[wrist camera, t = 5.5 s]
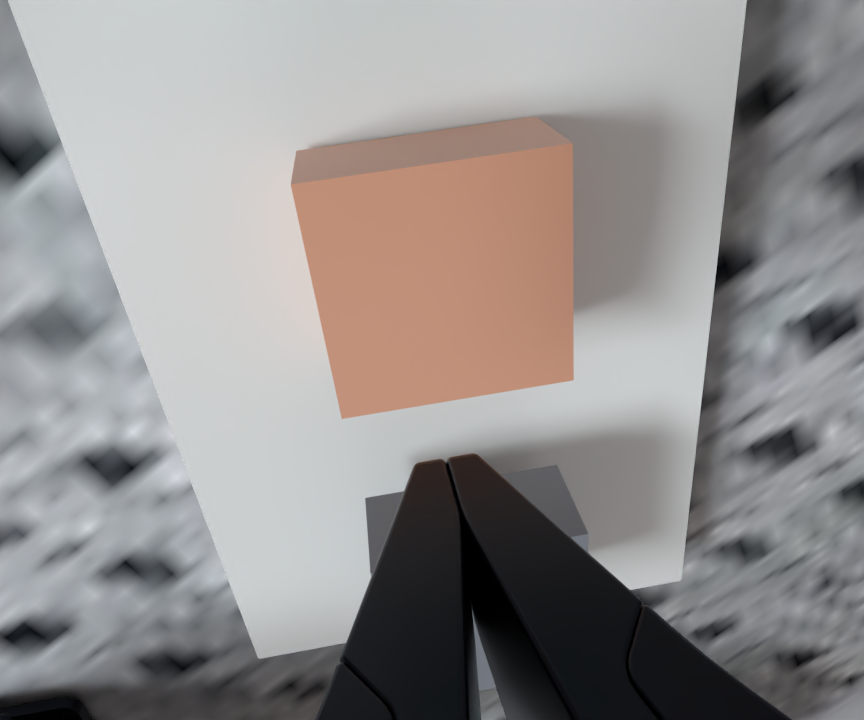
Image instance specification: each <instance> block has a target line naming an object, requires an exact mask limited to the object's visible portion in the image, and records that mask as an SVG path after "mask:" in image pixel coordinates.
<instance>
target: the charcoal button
mask: <svg viewBox="0 0 864 720" xmlns="http://www.w3.org/2000/svg"><path fill="white" fill-rule="evenodd" d="M500 475H501V476H502V477H504V478H505V479H506V480H507V481H508V482H509V483H510V484H511V485H513V486H514V487H515V488H516V489H517V490H518V491H519V492H520V493H522V494H523V495H524V496H525V497H526V498H527V499H528V500H529V501H531V502H532V503H533V504H534V505H535V506H536V507H537V508H538V509H540V510H541V511H542V512H543V513H544V514H545V515H546V516H547V517H549V518H550V519H551V520H552V521H553V522H554V523H555V524H556V525H558V526H559V527H560V528H561V529H562V530H563V531H564V532H565V533H567V534H568V535H569V536H570V537H571V538H572V539H573V540H574V541H576V542H577V543H578V544H579V545H580V546H581V547H582V548H583V549H585V550H586V551H587V552H588V539H589V534H588V532H587V529H586V527H585V525H584V523H583V521H582V519H581V516H580V514H579V512H578V510H577V508H576V505H575V503H574V501H573V499H572V497H571V495H570V492H569V490H568V488H567V486H566V484H565V481H564V479H563V477H562V475H561V473H560V471H559V468H558V466H557V465H552V466H546V467H540V468H535V469H529V470H523V471H517V472H512V473H506V474H500ZM403 492H404V491H402V492H397V493H391V494H385V495H379V496H374V497H368V498H365V503H366V517H367V532H368V546H369V560H370V574H371V576H372V574H373V571H374V568H375V566H376V563H377V560H378V558H379V555H380V553H381V550H382V547H383V545H384V542H385V539H386V537H387V534H388V532H389V529H390V526H391V524H392V521H393V519H394V516H395V513H396V511H397V508H398V505H399V503H400V500H401V498H402V495H403ZM472 615H473V612H472ZM473 624H474V633H475V644H476V657H477V671H478V684H479V691H483V690H488V689H493V688H496V685H495V682H494V679H493V676H492V673H491V670H490V667H489V664H488V661H487V659H486V656H485V653H484V650H483V647H482V644H481V641H480V637H479V634H478V631H477V628H476V624H475V621H474V616H473Z"/></svg>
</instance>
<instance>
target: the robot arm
mask: <svg viewBox="0 0 864 720" xmlns="http://www.w3.org/2000/svg"><path fill="white" fill-rule="evenodd" d="M472 612H473V615H472ZM473 616H474V621H475V624H476V628H477V631H478V634H479V637H480V641H481V644H482V647H483V650H484V653H485V656H486V659H487V661H488V664H489V667H490V670H491V673H492V676H493V679H494V682H495V685H496V688H497V691H498V694H499V697H500V700H501V703H502V706H503V709H504V712H505V715H506V718H507V720H792V719H791V718H789V717H788V716H787V715H785V714H784V713H782V712H781V711H780V710H778V709H777V708H775V707H774V706H773V705H771V704H770V703H768V702H767V701H766V700H764V699H763V698H762V697H760V696H759V695H757V694H756V693H755V692H753V691H752V690H751V689H749V688H748V687H747V686H745V685H744V684H743V683H741V682H740V681H739V680H737V679H736V678H735V677H733V676H732V675H731V674H729V673H728V672H727V671H725V670H724V669H723V668H721V667H720V666H719V665H718V664H716V663H715V662H714V661H712V660H711V659H710V658H708V657H707V656H706V655H705V654H703V653H702V652H701V651H700V650H699V649H698V648H696V647H695V646H694V645H693V644H692V643H690V642H689V641H688V640H687V639H686V638H684V637H683V636H682V635H681V634H680V633H678V632H677V631H676V630H675V629H674V628H673V627H671V626H670V625H669V624H668V623H667V622H666V621H665V620H663V619H662V618H661V617H660V616H659V615H658V614H657V613H656V612H655V611H653V610H652V609H651V608H650V607H649V606H647V605H644V606H643V602H642V600H641V599H640V598H638V597H637V596H636V595H635V594H634V593H633V592H632V591H631V590H630V589H628V588H627V587H626V586H625V585H624V584H623V583H622V582H621V581H619V580H618V579H617V578H616V577H615V576H614V575H613V574H612V573H610V572H609V571H608V570H607V569H606V568H605V567H604V566H603V565H601V564H600V563H599V562H598V561H597V560H596V559H595V558H594V557H592V556H591V555H590V554H589V553H588V552H587V551H586V550H585V549H583V548H582V547H581V546H580V545H579V544H578V543H577V542H576V541H574V540H573V539H572V538H571V537H570V536H569V535H568V534H567V533H565V532H564V531H563V530H562V529H561V528H560V527H559V526H558V525H556V524H555V523H554V522H553V521H552V520H551V519H550V518H549V517H547V516H546V515H545V514H544V513H543V512H542V511H541V510H540V509H538V508H537V507H536V506H535V505H534V504H533V503H532V502H531V501H529V500H528V499H527V498H526V497H525V496H524V495H523V494H522V493H520V492H519V491H518V490H517V489H516V488H515V487H514V486H513V485H511V484H510V483H509V482H508V481H507V480H506V479H505V478H504V477H502V476H501V475H500V474H499V473H498V472H497V471H496V470H495V469H493V468H492V467H491V466H490V465H489V464H488V463H487V462H486V461H484V460H483V459H482V458H481V457H480V456H479V455H477V454H475V453H470V454H464V455H459V456H453V457H449V458H448V459H447V461H446V462H445V461H444V460H443V459H435V460H430V461H424V462H418V463H416V464H415V465H414V467H413V469H412V471H411V474H410V477H409V479H408V482H407V484H406V487H405V490H404V492H403V495H402V498H401V500H400V503H399V505H398V508H397V511H396V513H395V516H394V519H393V521H392V524H391V526H390V529H389V532H388V534H387V537H386V539H385V542H384V545H383V547H382V550H381V553H380V555H379V558H378V560H377V563H376V566H375V568H374V571H373V574H372V576H371V579H370V581H369V584H368V587H367V589H366V592H365V595H364V597H363V600H362V602H361V605H360V608H359V610H358V613H357V615H356V618H355V621H354V623H353V626H352V629H351V631H350V634H349V636H348V639H347V642H346V644H345V647H344V650H343V652H342V655H341V657H340V662H341V663H339V664H338V665H337V667H336V670H335V672H334V675H333V678H332V680H331V683H330V685H329V688H328V691H327V693H326V696H325V698H324V700H323V703H322V705H321V708H320V710H319V712H318V715H317V717H316V719H315V720H481V711H480V698H479V684H478V671H477V657H476V644H475V633H474V624H473ZM0 720H93V719H92V718H91V716H90V714H89V713H88V711H87V709H86V708H85V706H84V705H83V703H82V702H81V701H80V700H78V699H76V698H71V697H62V698H57V699H51V700H46V701H41V702H35V703H30V704H24V705H19V706H14V707H8V708H3V709H0Z"/></svg>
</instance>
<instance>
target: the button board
mask: <svg viewBox="0 0 864 720" xmlns="http://www.w3.org/2000/svg"><path fill="white" fill-rule="evenodd" d="M8 2H9V5H10V8H11V10H12V13H13V15H14V18H15V21H16V23H17V26H18V29H19V31H20V34H21V36H22V39H23V42H24V44H25V47H26V50H27V52H28V55H29V57H30V60H31V63H32V65H33V68H34V71H35V73H36V76H37V79H38V81H39V84H40V86H41V89H42V92H43V94H44V97H45V100H46V102H47V105H48V107H49V110H50V113H51V115H52V118H53V121H54V123H55V126H56V128H57V131H58V134H59V136H60V139H61V142H62V144H63V147H64V149H65V152H66V155H67V157H68V160H69V163H70V165H71V168H72V170H73V173H74V176H75V178H76V181H77V184H78V186H79V189H80V191H81V194H82V197H83V199H84V202H85V205H86V207H87V210H88V213H89V215H90V218H91V220H92V223H93V226H94V228H95V231H96V234H97V236H98V239H99V241H100V244H101V247H102V249H103V252H104V255H105V257H106V260H107V262H108V265H109V268H110V270H111V273H112V276H113V278H114V281H115V283H116V286H117V289H118V291H119V294H120V297H121V299H122V302H123V304H124V307H125V310H126V312H127V315H128V318H129V320H130V323H131V326H132V328H133V331H134V333H135V336H136V339H137V341H138V344H139V347H140V349H141V352H142V354H143V357H144V360H145V362H146V365H147V368H148V370H149V373H150V375H151V378H152V381H153V383H154V386H155V389H156V391H157V394H158V396H159V399H160V402H161V404H162V407H163V410H164V412H165V415H166V417H167V420H168V423H169V425H170V428H171V431H172V433H173V436H174V439H175V441H176V444H177V446H178V449H179V452H180V454H181V457H182V460H183V462H184V465H185V467H186V470H187V473H188V475H189V478H190V481H191V483H192V486H193V488H194V491H195V494H196V496H197V499H198V502H199V504H200V507H201V509H202V512H203V515H204V517H205V520H206V523H207V525H208V528H209V530H210V533H211V536H212V538H213V541H214V544H215V546H216V549H217V551H218V554H219V557H220V559H221V562H222V565H223V567H224V570H225V573H226V575H227V578H228V580H229V583H230V586H231V588H232V591H233V594H234V596H235V599H236V601H237V604H238V607H239V609H240V612H241V615H242V617H243V620H244V622H245V625H246V628H247V630H248V633H249V636H250V638H251V641H252V643H253V646H254V649H255V651H256V654H257V657H258V659H262V658H267V657H273V656H278V655H284V654H289V653H294V652H300V651H305V650H310V649H316V648H321V647H327V646H332V645H337V644H343V643H346V642H347V639H348V636H349V634H350V631H351V629H352V626H353V623H354V621H355V618H356V615H357V613H358V610H359V608H360V605H361V602H362V600H363V597H364V595H365V592H366V589H367V587H368V584H369V581H370V579H371V574H370V560H369V546H368V532H367V517H366V503H365V498H368V497H374V496H379V495H385V494H391V493H397V492H402V491H404V490H405V487H406V484H407V482H408V479H409V477H410V474H411V471H412V469H413V467H414V465H415V464H416V463H418V462H424V461H430V460H435V459H443V460H444V461H445V462H446V461H447V459H448V458H449V457H453V456H459V455H464V454H470V453H475V454H477V455H479V456H480V457H481V458H482V459H483V460H484V461H486V462H487V463H488V464H489V465H490V466H491V467H492V468H493V469H495V470H496V471H497V472H498V473H499V474H506V473H512V472H517V471H523V470H529V469H535V468H540V467H546V466H552V465H557V466H558V468H559V471H560V473H561V475H562V477H563V479H564V481H565V484H566V486H567V488H568V490H569V492H570V495H571V497H572V499H573V501H574V503H575V505H576V508H577V510H578V512H579V514H580V516H581V519H582V521H583V523H584V525H585V527H586V529H587V532H588V534H589V539H588V553H589V554H590V555H591V556H592V557H594V558H595V559H596V560H597V561H598V562H599V563H600V564H601V565H603V566H604V567H605V568H606V569H607V570H608V571H609V572H610V573H612V574H613V575H614V576H615V577H616V578H617V579H618V580H619V581H621V582H622V583H623V584H624V585H625V586H626V587H627V588H628V589H630V590H633V589H639V588H644V587H649V586H655V585H660V584H666V583H671V582H676V581H681V578H682V569H683V560H684V551H685V542H686V534H687V525H688V516H689V507H690V498H691V489H692V481H693V472H694V463H695V454H696V445H697V436H698V428H699V419H700V410H701V401H702V392H703V384H704V375H705V366H706V357H707V348H708V339H709V331H710V322H711V313H712V304H713V295H714V286H715V278H716V269H717V260H718V251H719V242H720V233H721V225H722V216H723V207H724V198H725V189H726V181H727V172H728V163H729V154H730V145H731V136H732V128H733V119H734V110H735V101H736V92H737V83H738V75H739V66H740V57H741V48H742V39H743V30H744V22H745V13H746V4H747V0H8ZM535 116H536V117H537V118H539V119H540V120H541V121H543V122H544V123H546V124H547V125H548V126H550V127H551V128H552V129H554V130H555V131H557V132H558V133H559V134H561V135H562V136H563V137H565V138H566V139H568V140H569V141H570V142H572V143H573V334H574V380H573V381H567V382H561V383H555V384H549V385H543V386H537V387H531V388H525V389H519V390H513V391H507V392H501V393H495V394H489V395H483V396H477V397H471V398H465V399H459V400H453V401H447V402H441V403H435V404H429V405H423V406H417V407H411V408H405V409H399V410H393V411H387V412H381V413H375V414H369V415H363V416H357V417H351V418H345V419H342V417H341V413H340V408H339V404H338V399H337V395H336V390H335V385H334V381H333V376H332V372H331V367H330V363H329V358H328V353H327V349H326V344H325V340H324V335H323V331H322V326H321V321H320V317H319V312H318V308H317V303H316V298H315V294H314V289H313V285H312V280H311V276H310V271H309V266H308V262H307V257H306V253H305V248H304V244H303V239H302V234H301V230H300V225H299V221H298V216H297V211H296V207H295V202H294V198H293V193H292V189H291V179H292V173H293V168H294V162H295V156H296V151H298V150H305V149H312V148H319V147H326V146H333V145H340V144H347V143H354V142H361V141H368V140H375V139H382V138H388V137H395V136H402V135H409V134H416V133H423V132H430V131H437V130H444V129H451V128H458V127H465V126H472V125H479V124H486V123H493V122H500V121H507V120H514V119H521V118H528V117H535Z"/></svg>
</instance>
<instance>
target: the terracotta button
mask: <svg viewBox="0 0 864 720" xmlns="http://www.w3.org/2000/svg"><path fill="white" fill-rule="evenodd" d="M291 189H292V193H293V198H294V202H295V207H296V211H297V216H298V221H299V225H300V230H301V234H302V239H303V244H304V248H305V253H306V257H307V262H308V266H309V271H310V276H311V280H312V285H313V289H314V294H315V298H316V303H317V308H318V312H319V317H320V321H321V326H322V331H323V335H324V340H325V344H326V349H327V353H328V358H329V363H330V367H331V372H332V376H333V381H334V385H335V390H336V395H337V399H338V404H339V408H340V413H341V417H342V419H345V418H351V417H357V416H363V415H369V414H375V413H381V412H387V411H393V410H399V409H405V408H411V407H417V406H423V405H429V404H435V403H441V402H447V401H453V400H459V399H465V398H471V397H477V396H483V395H489V394H495V393H501V392H507V391H513V390H519V389H525V388H531V387H537V386H543V385H549V384H555V383H561V382H567V381H573V380H574V334H573V143H572V142H570V141H569V140H568V139H566V138H565V137H563V136H562V135H561V134H559V133H558V132H557V131H555V130H554V129H552V128H551V127H550V126H548V125H547V124H546V123H544V122H543V121H541V120H540V119H539V118H537V117H536V116H535V117H528V118H521V119H514V120H507V121H500V122H493V123H486V124H479V125H472V126H465V127H458V128H451V129H444V130H437V131H430V132H423V133H416V134H409V135H402V136H395V137H388V138H382V139H375V140H368V141H361V142H354V143H347V144H340V145H333V146H326V147H319V148H312V149H305V150H298V151H296V156H295V162H294V168H293V173H292V179H291Z"/></svg>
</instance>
